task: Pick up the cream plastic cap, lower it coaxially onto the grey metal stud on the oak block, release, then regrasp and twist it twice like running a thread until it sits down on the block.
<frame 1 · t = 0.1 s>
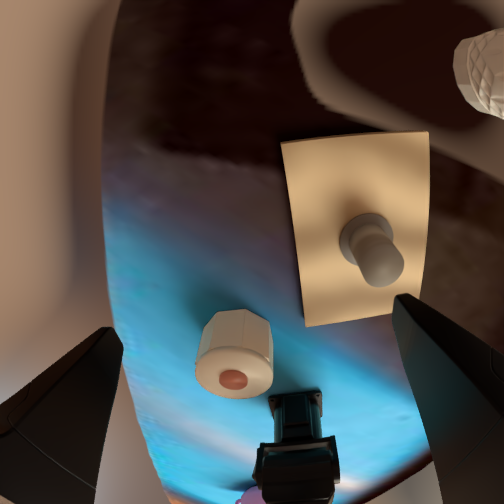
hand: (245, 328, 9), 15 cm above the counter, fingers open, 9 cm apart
stud block: (363, 234, 23), on the counter
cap: (238, 335, 28), on the counter
teapot: (280, 489, 56), on the counter
white cup: (480, 74, 15), on the counter
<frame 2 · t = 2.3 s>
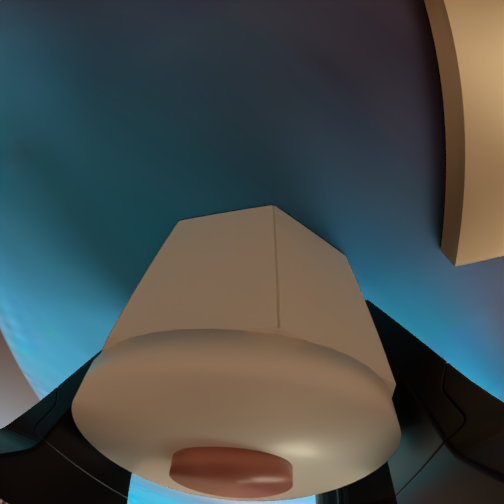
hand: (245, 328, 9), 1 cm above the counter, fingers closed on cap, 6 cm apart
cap: (247, 306, 10), on the counter, touching gripper
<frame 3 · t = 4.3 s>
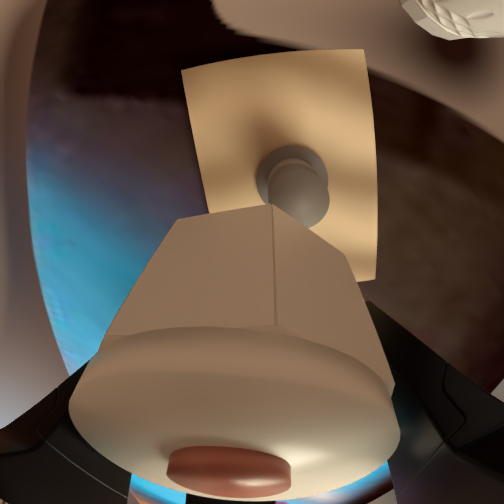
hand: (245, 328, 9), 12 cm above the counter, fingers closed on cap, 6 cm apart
stud block: (291, 176, 19), on the counter
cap: (245, 305, 9), point 11 cm above the counter, touching gripper
white cup: (432, 0, 12), on the counter
when the fingers open (3 cm above the counter, at t = 6.6 s): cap drops 1 cm, resting on stud block.
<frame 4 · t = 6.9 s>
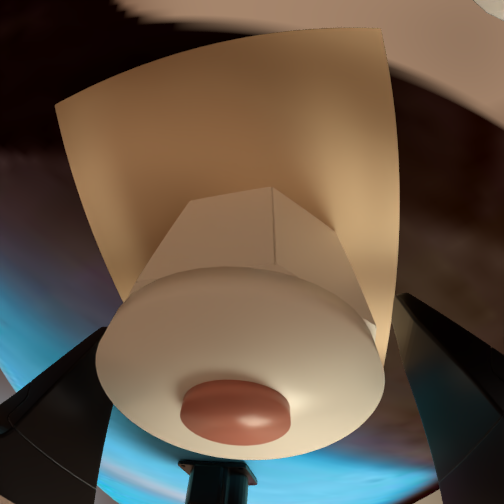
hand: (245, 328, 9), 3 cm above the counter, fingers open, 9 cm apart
stud block: (251, 265, 12), on the counter
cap: (249, 278, 11), point 1 cm above the counter, touching stud block
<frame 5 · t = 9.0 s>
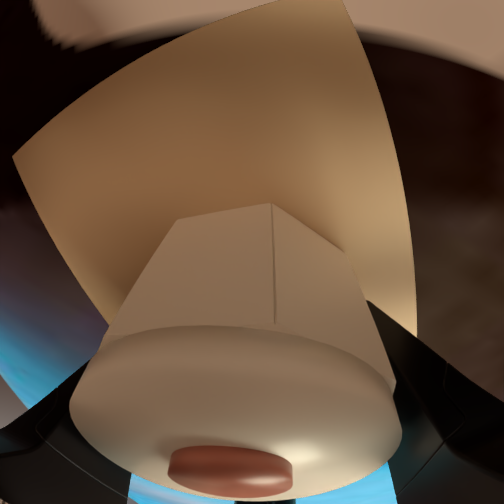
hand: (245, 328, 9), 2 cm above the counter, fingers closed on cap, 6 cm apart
stud block: (249, 287, 10), on the counter
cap: (246, 304, 9), point 1 cm above the counter, touching gripper
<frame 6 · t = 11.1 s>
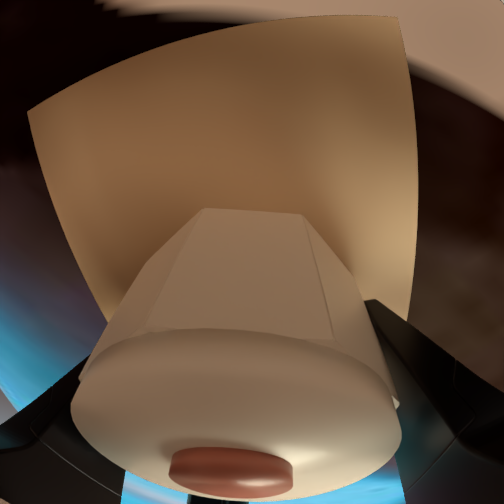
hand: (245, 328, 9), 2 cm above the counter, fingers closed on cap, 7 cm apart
stud block: (249, 288, 10), on the counter
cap: (247, 305, 9), point 1 cm above the counter, touching gripper, stud block
when the fingers open (2 cm above the counter, at t = 12.6 s): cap stays where it is, resting on stud block.
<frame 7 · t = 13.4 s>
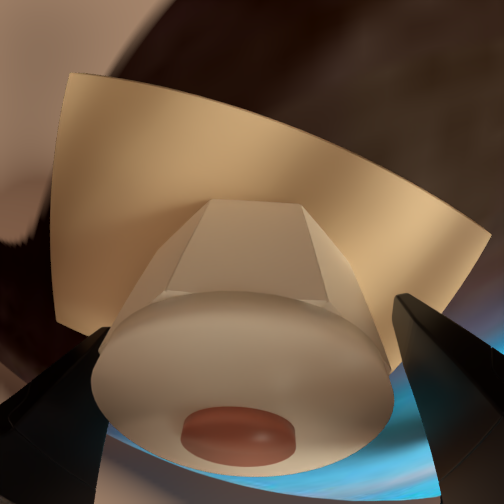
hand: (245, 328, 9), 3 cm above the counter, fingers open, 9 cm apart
stud block: (251, 275, 11), on the counter
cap: (251, 290, 10), point 1 cm above the counter, touching stud block
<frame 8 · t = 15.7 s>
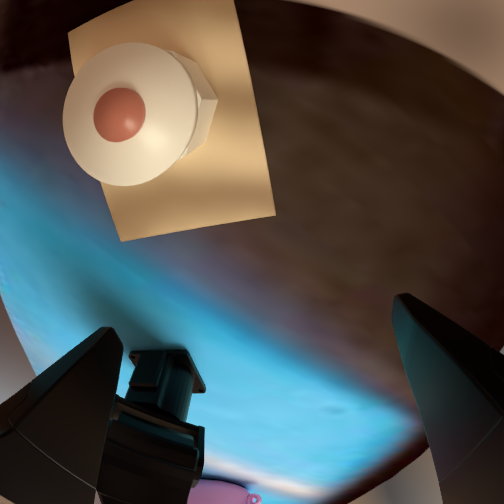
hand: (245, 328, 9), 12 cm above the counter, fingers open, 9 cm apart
stud block: (165, 108, 16), on the counter
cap: (161, 108, 16), point 1 cm above the counter, touching stud block
teapot: (219, 487, 50), on the counter
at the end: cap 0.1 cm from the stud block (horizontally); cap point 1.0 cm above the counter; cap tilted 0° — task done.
